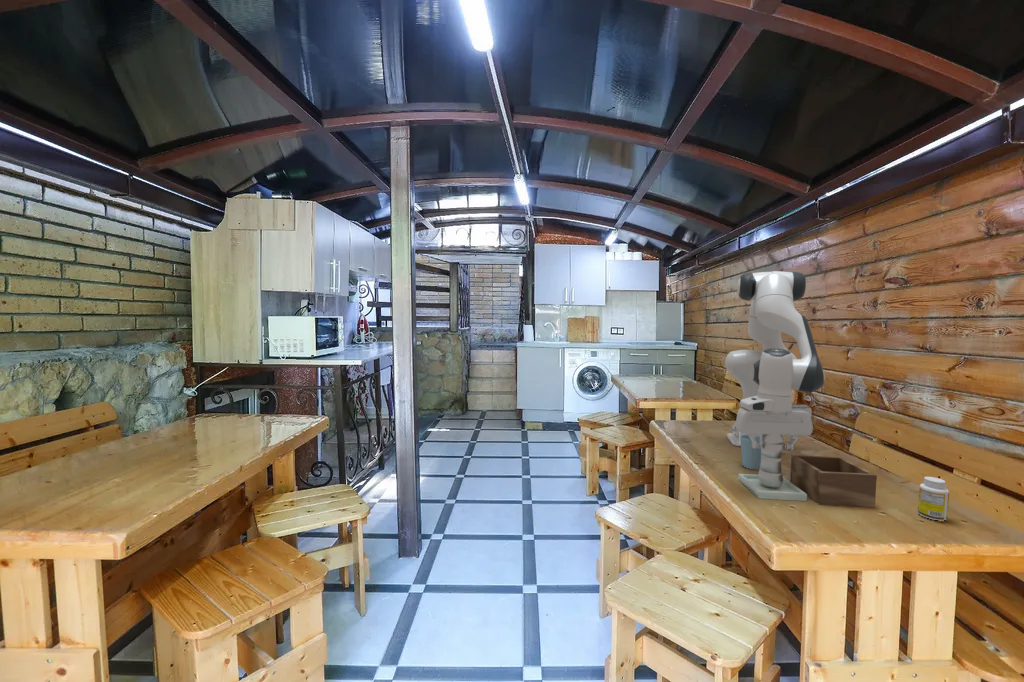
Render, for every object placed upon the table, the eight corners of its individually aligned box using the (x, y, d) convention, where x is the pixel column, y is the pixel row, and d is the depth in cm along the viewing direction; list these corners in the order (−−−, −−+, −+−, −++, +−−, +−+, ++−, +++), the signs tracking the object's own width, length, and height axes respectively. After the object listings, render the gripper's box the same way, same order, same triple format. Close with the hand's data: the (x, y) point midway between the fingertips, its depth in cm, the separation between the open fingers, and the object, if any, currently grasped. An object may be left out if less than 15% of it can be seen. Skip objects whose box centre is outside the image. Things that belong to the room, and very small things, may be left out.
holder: (789, 482, 134) (791, 454, 133) (838, 485, 132) (840, 456, 131) (819, 504, 118) (820, 472, 118) (875, 507, 117) (877, 475, 116)
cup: (768, 468, 147) (769, 438, 146) (757, 472, 142) (758, 442, 142) (746, 461, 153) (747, 433, 152) (735, 466, 148) (736, 436, 148)
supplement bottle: (930, 512, 114) (932, 475, 114) (953, 522, 109) (956, 483, 108) (911, 512, 114) (914, 475, 113) (934, 522, 108) (936, 483, 108)
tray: (738, 479, 136) (738, 473, 136) (781, 481, 134) (781, 475, 134) (758, 498, 122) (758, 491, 122) (806, 501, 120) (807, 494, 120)
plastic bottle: (778, 483, 130) (780, 419, 129) (786, 491, 124) (788, 424, 123) (755, 480, 132) (757, 417, 131) (761, 489, 126) (763, 422, 125)
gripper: (805, 402, 128) (803, 447, 129) (734, 400, 131) (732, 444, 132) (818, 406, 122) (815, 453, 123) (743, 404, 124) (741, 450, 125)
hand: (772, 448), depth 127 cm, fingers open, 8 cm apart
